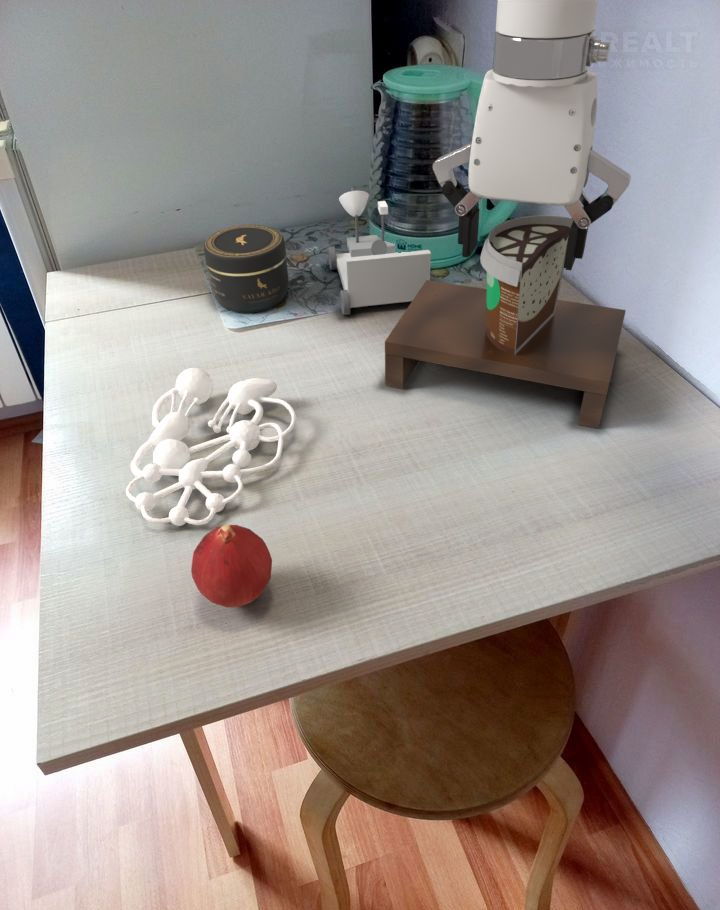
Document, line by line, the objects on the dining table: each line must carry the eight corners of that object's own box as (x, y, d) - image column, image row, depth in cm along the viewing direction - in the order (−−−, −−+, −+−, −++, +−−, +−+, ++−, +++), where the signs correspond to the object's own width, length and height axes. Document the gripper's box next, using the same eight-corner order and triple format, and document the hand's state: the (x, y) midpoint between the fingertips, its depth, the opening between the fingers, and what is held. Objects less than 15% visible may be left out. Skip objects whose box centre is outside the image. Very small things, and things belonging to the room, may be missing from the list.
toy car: (321, 185, 93) (408, 177, 94) (326, 255, 99) (407, 247, 100) (339, 242, 79) (440, 232, 80) (344, 319, 86) (437, 309, 87)
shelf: (615, 354, 78) (625, 309, 75) (598, 429, 68) (609, 382, 65) (425, 321, 85) (426, 279, 81) (385, 386, 75) (384, 341, 71)
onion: (187, 616, 53) (164, 545, 48) (223, 561, 57) (206, 490, 52) (256, 638, 52) (240, 566, 46) (289, 579, 56) (278, 507, 50)
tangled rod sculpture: (250, 552, 59) (246, 520, 56) (90, 521, 61) (79, 488, 58) (309, 409, 73) (309, 377, 70) (178, 386, 75) (172, 354, 72)
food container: (508, 293, 78) (518, 204, 71) (560, 308, 75) (576, 216, 69) (451, 344, 71) (457, 249, 64) (507, 362, 68) (519, 265, 61)
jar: (230, 324, 86) (220, 265, 81) (201, 291, 92) (190, 235, 87) (303, 301, 89) (298, 244, 84) (271, 271, 96) (264, 216, 91)
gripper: (658, 50, 57) (616, 252, 68) (449, 44, 62) (442, 232, 73) (650, 72, 51) (607, 287, 62) (423, 62, 57) (420, 262, 68)
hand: (518, 257), depth 68 cm, fingers open, 9 cm apart
